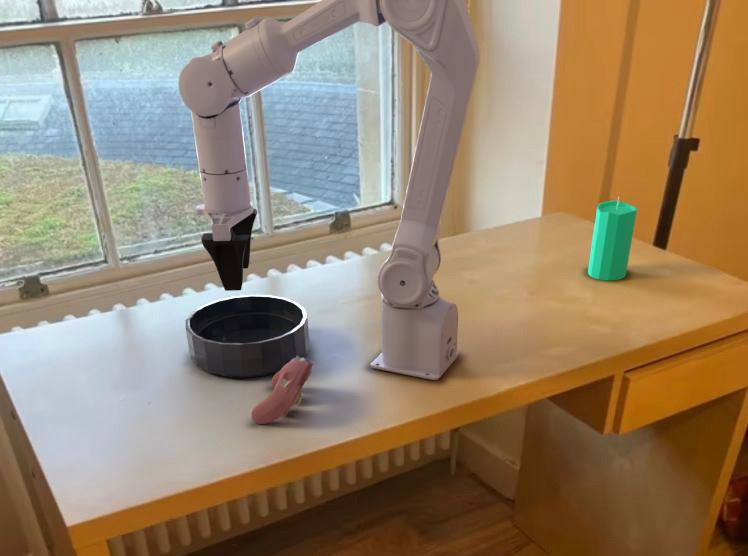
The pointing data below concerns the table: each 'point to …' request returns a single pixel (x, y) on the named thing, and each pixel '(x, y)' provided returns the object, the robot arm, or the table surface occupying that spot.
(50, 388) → the table surface
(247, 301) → the dark round bowl
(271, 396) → the pink curved piece
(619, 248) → the candle
